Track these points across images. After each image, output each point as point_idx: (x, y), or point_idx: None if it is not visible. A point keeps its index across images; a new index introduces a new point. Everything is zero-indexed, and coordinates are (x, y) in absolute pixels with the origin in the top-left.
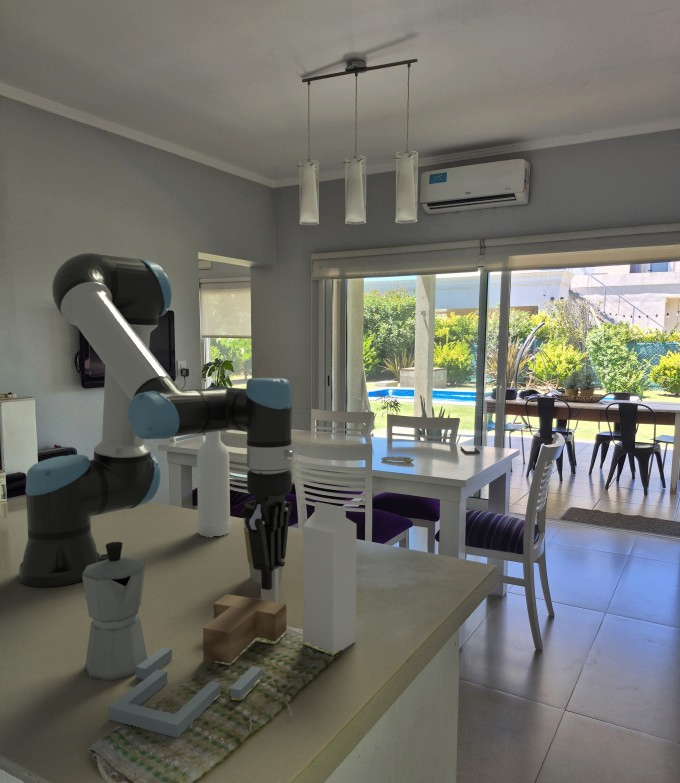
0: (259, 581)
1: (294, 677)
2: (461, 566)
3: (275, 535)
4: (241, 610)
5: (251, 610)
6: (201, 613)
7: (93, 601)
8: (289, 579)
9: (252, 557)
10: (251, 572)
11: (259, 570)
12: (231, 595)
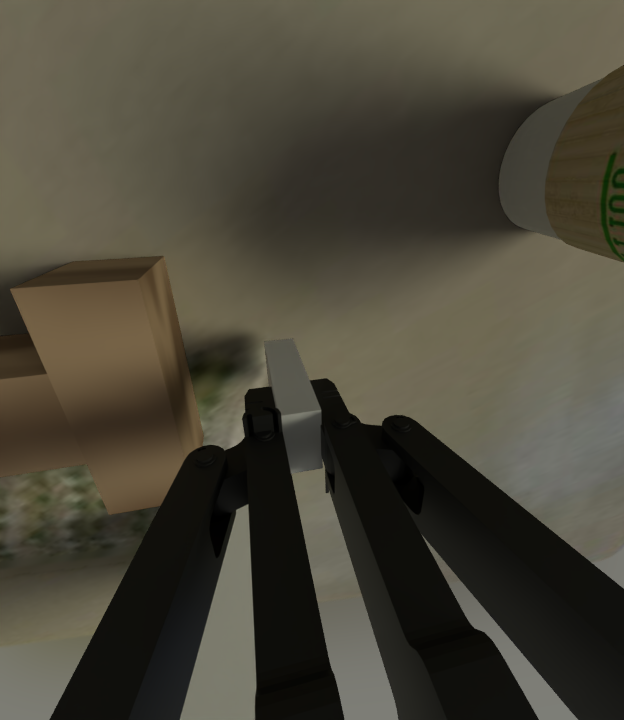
0: (503, 172)
1: (43, 542)
2: (616, 529)
3: (374, 624)
4: (49, 424)
5: (76, 450)
6: (172, 100)
7: None
8: (540, 257)
9: (155, 518)
10: (543, 120)
11: (534, 173)
12: (139, 308)
